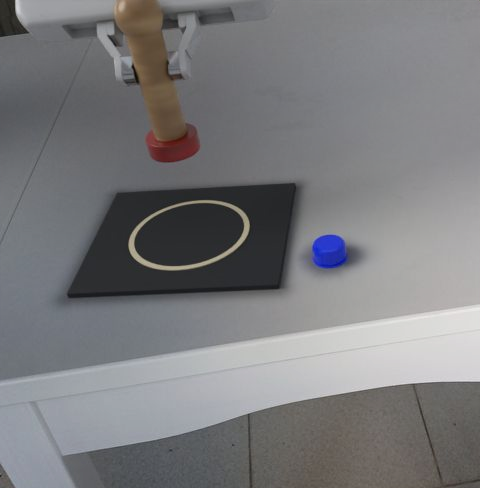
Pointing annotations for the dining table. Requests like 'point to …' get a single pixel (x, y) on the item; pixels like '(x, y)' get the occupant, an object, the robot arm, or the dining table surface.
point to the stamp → (156, 81)
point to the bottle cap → (329, 251)
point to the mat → (189, 242)
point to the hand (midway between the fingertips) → (154, 80)
